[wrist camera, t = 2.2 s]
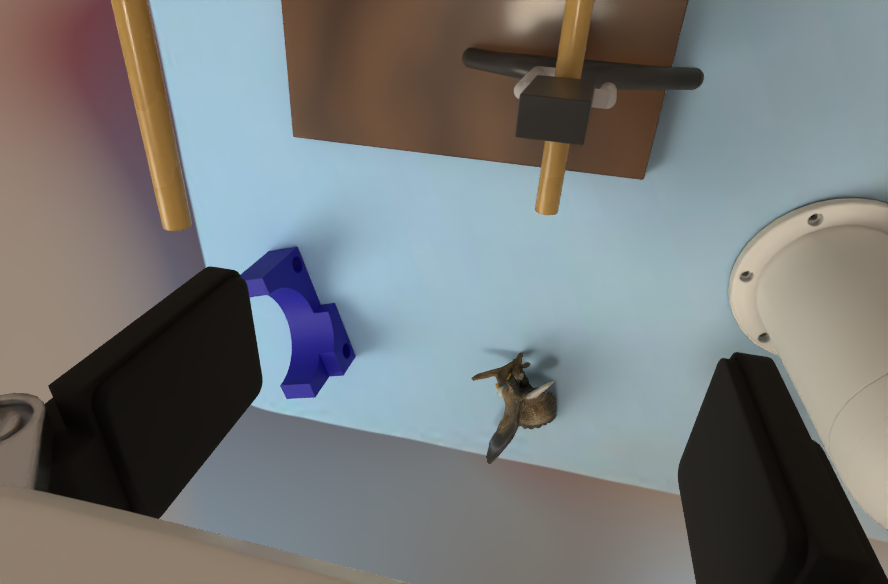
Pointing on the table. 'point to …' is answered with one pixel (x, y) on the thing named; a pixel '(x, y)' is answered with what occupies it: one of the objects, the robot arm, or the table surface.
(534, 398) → the eagle figurine
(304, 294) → the cable clip
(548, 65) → the hanger
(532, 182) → the table surface
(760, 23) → the table surface
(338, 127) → the rack
